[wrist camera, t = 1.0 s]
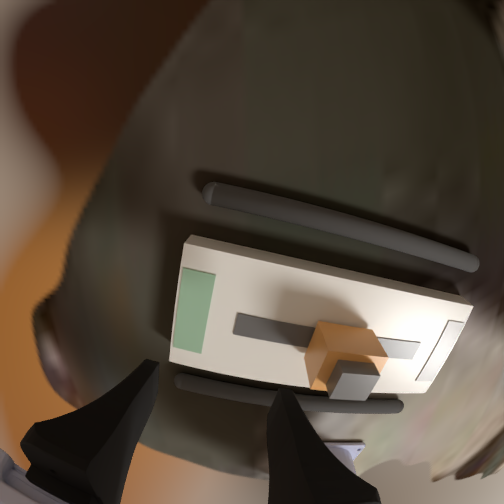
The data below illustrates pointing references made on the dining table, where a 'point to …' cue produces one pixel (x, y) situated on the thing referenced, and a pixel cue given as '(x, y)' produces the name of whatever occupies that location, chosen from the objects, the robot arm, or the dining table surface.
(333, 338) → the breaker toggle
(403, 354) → the white slider switch panel
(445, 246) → the dressed cords
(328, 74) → the dining table surface
